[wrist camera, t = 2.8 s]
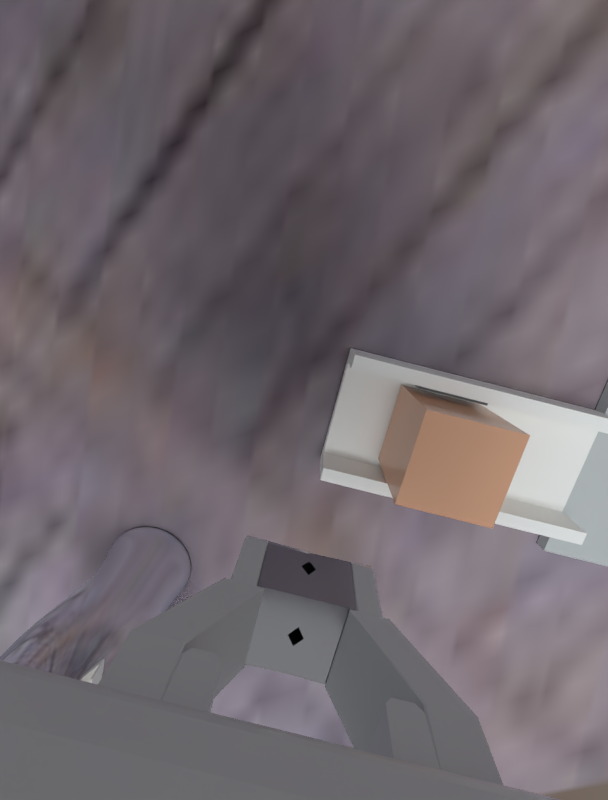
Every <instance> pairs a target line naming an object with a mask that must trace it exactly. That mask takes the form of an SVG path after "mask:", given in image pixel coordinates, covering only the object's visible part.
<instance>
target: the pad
mask: <svg viewBox="0 0 608 800" xmlns="http://www.w3.org/2000/svg"><path fill="white" fill-rule="evenodd" d="M595 410H596V411H599V412H602V413H604V414H607V415H608V382H607V384H606V386H605V389H604V391H603V393H602V395H601V398H600V400H599V402H598V405H597V407H596V409H595ZM562 512H563V513H564V514H565V515H566V516H567V517H569V518H570V519H571V520H572V521H573V522H574V523H576V524H577V525H578V526H579V527H580V528H581V529H583V530H584V531H585V532H586V533H587V535H586V537H585V539H584V541H583V544H582V545H579V544H575V543H571V542H567V541H563V540H559V539H555V538H551V537H547V536H543V535H540V536H539V539H538V541H537V544H538V545H539V546H540V547H541V548H542V549H543V550H544V551H548V552H552V553H556V554H560V555H564V556H568V557H572V558H576V559H580V560H584V561H588V562H592V563H596V564H600V565H604V566H608V434H607V433H603V432H599V431H598V433H597V436H596V438H595V440H594V442H593V444H592V447H591V449H590V451H589V453H588V456H587V458H586V460H585V462H584V465H583V467H582V469H581V471H580V474H579V476H578V478H577V480H576V482H575V485H574V487H573V489H572V491H571V494H570V496H569V498H568V500H567V503H566V505H565V507H564V509H563V511H562Z"/></svg>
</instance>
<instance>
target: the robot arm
mask: <svg viewBox="0 0 608 800" xmlns="http://www.w3.org/2000/svg"><path fill="white" fill-rule="evenodd" d="M267 543H268V545H267ZM266 548H267V549H266ZM245 665H250V666H254V667H259V668H264V669H268V670H273V671H278V672H282V673H286V674H290V675H293V676H297V677H300V678H304V679H307V680H311V681H315V682H318V683H322V684H325V688H326V690H327V692H328V694H329V696H330V698H331V700H332V702H333V704H334V707H335V709H336V711H337V713H338V715H339V717H340V719H341V721H342V723H343V725H344V727H345V730H346V732H347V734H348V736H349V738H350V740H351V742H352V744H353V746H354V748H352V747H348V746H344V745H340V744H335V743H331V742H327V741H323V740H319V739H315V738H311V737H307V736H303V735H299V734H295V733H291V732H287V731H283V730H279V729H275V728H271V727H267V726H263V725H259V724H255V723H250V722H246V721H242V720H238V719H234V718H230V717H226V716H222V715H218V714H214V713H210V711H211V707H212V703H213V699H214V698H215V697H216V696H217V695H218V694H219V692H220V691H221V690H222V689H223V688H224V687H225V686H226V685H227V684H228V683H229V682H230V681H231V680H232V679H233V678H234V677H235V676H236V675H237V674H238V673H239V672H240V671H241V670H242V669H243V668H244V666H245ZM0 800H560V799H556V798H552V797H548V796H544V795H540V794H536V793H532V792H528V791H524V790H520V789H516V788H512V787H508V786H504V785H503V783H502V780H501V778H500V775H499V772H498V770H497V767H496V764H495V762H494V759H493V756H492V754H491V751H490V749H489V746H488V743H487V741H486V738H485V735H484V733H483V730H482V727H481V725H480V722H479V719H478V717H477V716H476V715H475V714H474V713H473V712H472V710H471V709H470V708H469V707H468V706H467V705H466V704H465V703H464V702H463V701H462V699H461V698H460V697H459V696H458V695H457V694H456V693H455V692H454V691H453V689H452V688H451V687H450V686H449V685H448V684H447V683H446V682H445V681H444V679H443V678H442V677H441V676H440V675H439V674H438V673H437V672H436V671H435V669H434V668H433V667H432V666H431V665H430V664H429V663H428V662H427V661H426V659H425V658H424V657H423V656H422V655H421V654H420V653H419V652H418V651H417V649H416V648H415V647H414V646H413V645H412V644H411V643H410V642H409V641H408V640H407V638H406V637H405V636H404V635H403V634H402V633H401V632H400V631H399V630H398V628H397V627H396V626H395V625H394V624H393V623H392V622H391V621H390V620H389V619H386V618H383V616H382V611H381V606H380V601H379V596H378V591H377V586H376V581H375V576H374V571H373V568H372V567H371V566H367V565H363V564H358V563H353V562H348V561H343V560H339V559H334V558H330V557H325V556H321V555H316V554H312V553H309V552H307V551H303V550H300V549H296V548H292V547H289V546H285V545H281V544H278V543H274V542H270V541H268V542H267V540H263V539H259V538H255V537H251V536H247V537H246V538H245V541H244V543H243V546H242V549H241V552H240V555H239V558H238V561H237V563H236V566H235V569H234V572H233V575H232V578H231V579H227V578H224V579H222V580H220V581H218V582H217V583H215V584H213V585H211V586H209V587H208V588H206V589H204V590H202V591H200V592H199V593H197V594H195V595H193V596H191V597H190V598H188V599H186V600H184V601H182V602H181V603H179V604H177V605H175V606H173V607H172V608H170V609H168V610H166V611H165V612H163V613H161V614H159V615H157V616H156V617H154V618H152V619H150V620H148V621H147V622H145V623H143V624H141V625H139V626H138V627H136V628H134V629H132V630H131V631H130V633H129V635H128V636H127V638H126V639H125V641H124V643H123V644H122V646H121V648H120V649H119V651H118V652H117V654H116V656H115V657H114V659H113V661H112V662H111V664H110V665H109V667H108V669H107V670H106V672H105V674H104V675H103V677H102V678H101V680H100V682H99V683H98V684H94V683H90V682H86V681H82V680H78V679H74V678H70V677H66V676H62V675H58V674H54V673H50V672H46V671H42V670H38V669H34V668H29V667H25V666H21V665H17V664H13V663H9V662H5V661H1V660H0Z"/></svg>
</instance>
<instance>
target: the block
mask: <svg viewBox="0 0 608 800" xmlns="http://www.w3.org/2000/svg"><path fill="white" fill-rule="evenodd" d="M529 437H530V435H529V434H527V433H525V432H524V431H522V430H521V429H519V428H517V427H516V426H514V425H513V424H511V423H509V422H508V421H506V420H505V419H503V418H501V417H500V416H498V415H496V414H495V413H493V412H492V411H490V410H488V409H487V408H485V407H484V406H482V405H480V404H477V403H473V402H469V401H465V400H461V399H457V398H453V397H449V396H445V395H441V394H437V393H433V392H429V391H425V390H421V389H417V388H413V387H409V386H405V385H401V388H400V391H399V394H398V397H397V401H396V404H395V407H394V410H393V413H392V417H391V420H390V423H389V426H388V429H387V433H386V436H385V439H384V442H383V445H382V449H381V452H380V455H379V458H378V459H379V462H380V465H381V467H382V470H383V473H384V476H385V478H386V481H387V484H388V487H389V489H390V492H391V495H392V497H393V500H394V503H395V504H396V505H400V506H404V507H408V508H412V509H416V510H420V511H424V512H428V513H432V514H436V515H440V516H444V517H448V518H452V519H456V520H460V521H465V522H469V523H473V524H477V525H481V526H485V527H489V528H493V526H494V524H495V521H496V519H497V516H498V514H499V511H500V509H501V506H502V504H503V502H504V499H505V497H506V494H507V492H508V489H509V487H510V484H511V482H512V479H513V477H514V474H515V472H516V469H517V467H518V465H519V462H520V460H521V457H522V455H523V452H524V450H525V447H526V445H527V442H528V440H529Z"/></svg>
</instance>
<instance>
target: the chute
mask: <svg viewBox="0 0 608 800" xmlns="http://www.w3.org/2000/svg"><path fill="white" fill-rule="evenodd" d="M401 385H405V386H409V387H413V388H417V389H421V390H425V391H429V392H433V393H437V394H441V395H445V396H449V397H453V398H457V399H461V400H465V401H469V402H473V403H477V404H480V405H482V406H484V407H485V408H487V409H488V410H490V411H492V412H493V413H495V414H496V415H498V416H500V417H501V418H503V419H505V420H506V421H508V422H509V423H511V424H513V425H514V426H516V427H517V428H519V429H521V430H522V431H524V432H525V433H527V434H529V435H530V437H529V440H528V442H527V445H526V447H525V450H524V452H523V455H522V457H521V460H520V462H519V465H518V467H517V469H516V472H515V474H514V477H513V479H512V482H511V484H510V487H509V489H508V492H507V494H506V497H505V499H504V502H503V504H502V506H501V509H500V511H499V514H498V516H497V519H496V521H495V524H499V525H503V526H507V527H511V528H515V529H519V530H523V531H527V532H531V533H535V534H539V535H543V536H547V537H551V538H555V539H559V540H563V541H567V542H571V543H575V544H579V545H582V544H583V541H584V539H585V537H586V535H587V533H586V532H585V531H584V530H583V529H581V528H580V527H579V526H578V525H577V524H576V523H574V522H573V521H572V520H571V519H570V518H569V517H567V516H566V515H565V514H564V513H563V512H562V511H563V509H564V507H565V505H566V503H567V500H568V498H569V496H570V494H571V491H572V489H573V487H574V485H575V482H576V480H577V478H578V476H579V474H580V471H581V469H582V467H583V465H584V462H585V460H586V458H587V456H588V453H589V451H590V449H591V447H592V444H593V442H594V440H595V438H596V436H597V433H598V431H599V432H603V433H607V434H608V415H607V414H604V413H602V412H599V411H596V410H593V409H589V408H585V407H581V406H577V405H573V404H569V403H565V402H561V401H557V400H554V399H550V398H546V397H542V396H538V395H534V394H530V393H526V392H522V391H518V390H514V389H510V388H506V387H502V386H498V385H494V384H490V383H487V382H483V381H479V380H475V379H471V378H467V377H463V376H459V375H455V374H451V373H447V372H443V371H439V370H435V369H431V368H427V367H423V366H419V365H416V364H412V363H408V362H404V361H400V360H396V359H392V358H388V357H384V356H380V355H376V354H372V353H368V352H364V351H360V350H356V349H352V348H350V352H349V356H348V359H347V363H346V366H345V370H344V374H343V377H342V381H341V385H340V388H339V392H338V396H337V399H336V403H335V406H334V410H333V414H332V417H331V421H330V425H329V428H328V432H327V436H326V439H325V443H324V446H323V450H322V454H321V457H320V480H322V481H326V482H330V483H334V484H338V485H342V486H346V487H350V488H354V489H358V490H362V491H366V492H370V493H374V494H378V495H382V496H386V497H390V498H393V497H392V495H391V492H390V489H389V487H388V484H387V481H386V478H385V476H384V473H383V470H382V467H381V465H380V462H379V459H378V458H379V455H380V452H381V449H382V445H383V442H384V439H385V436H386V433H387V429H388V426H389V423H390V420H391V417H392V413H393V410H394V407H395V404H396V401H397V397H398V394H399V391H400V388H401Z"/></svg>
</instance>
